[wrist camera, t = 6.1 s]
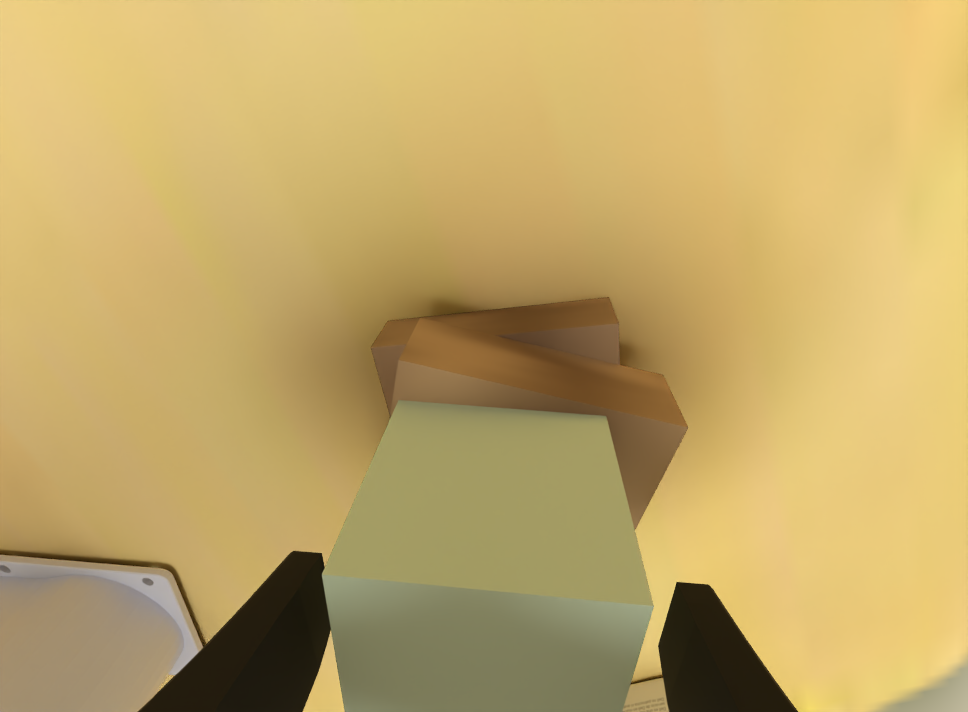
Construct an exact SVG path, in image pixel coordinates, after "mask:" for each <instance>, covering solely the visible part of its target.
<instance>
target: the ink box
mask: <svg viewBox="0 0 968 712" xmlns="http://www.w3.org/2000/svg"><path fill="white" fill-rule="evenodd" d="M622 712H669V709H668V705H667V699H666V693H665V687H664V681H663V678H658V679H654V680H649V681H645V682H640V683H636V684H631V685H630V687H629V691H628V694H627V697H626V701H625V704H624V708H623V711H622Z"/></svg>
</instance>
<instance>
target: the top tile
mask: <svg viewBox="0 0 968 712" xmlns="http://www.w3.org/2000/svg"><path fill="white" fill-rule="evenodd" d="M398 400H405V401H418V402H431V403H444V404H457V405H470V406H483V407H496V408H509V409H521V410H534V411H547V412H560V413H573V414H586V415H599V416H606V417H607V421H608V425H609V429H610V433H611V437H612V441H613V445H614V449H615V453H616V457H617V461H618V465H619V469H620V473H621V477H622V481H623V485H624V489H625V493H626V497H627V501H628V505H629V509H630V513H631V517H632V521H633V525H634V529H636V527H637V525H638V523H639V521H640V519H641V518H642V516H643V514H644V512H645V510H646V508H647V506H648V504H649V502H650V500H651V498H652V496H653V494H654V493H655V491H656V489H657V487H658V485H659V483H660V481H661V479H662V477H663V475H664V473H665V471H666V469H667V468H668V466H669V464H670V462H671V460H672V458H673V456H674V454H675V452H676V450H677V448H678V446H679V444H680V443H681V441H682V439H683V437H684V435H685V433H686V431H687V429H688V426H687V424H686V422H685V420H684V418H683V416H682V413H681V411H680V409H679V407H678V405H677V403H676V401H675V399H674V397H673V395H672V393H671V391H670V388H669V386H668V384H667V382H666V380H665V378H664V376H663V375H661V374H657V373H652V372H648V371H644V370H640V369H635V368H631V367H627V366H623V365H618V364H613V363H609V362H605V361H601V360H597V359H592V358H588V357H584V356H580V355H575V354H571V353H567V352H563V351H559V350H554V349H550V348H546V347H542V346H538V345H533V344H529V343H525V342H521V341H516V340H512V339H508V338H504V337H500V336H495V335H492V334H487V333H483V332H479V331H475V330H470V329H466V328H462V327H458V326H453V325H449V324H445V323H441V322H436V321H432V320H428V319H424V318H420V319H419V321H418V323H417V325H416V327H415V329H414V331H413V333H412V335H411V337H410V339H409V341H408V343H407V344H406V346H405V348H404V350H403V352H402V354H401V356H400V358H399V361H398V367H397V374H396V380H395V387H394V393H393V400H392V406H391V413H390V418H391V416H392V414H393V411H394V409H395V407H396V404H397V402H398ZM389 420H390V419H389Z"/></svg>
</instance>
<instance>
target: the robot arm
mask: <svg viewBox="0 0 968 712" xmlns="http://www.w3.org/2000/svg"><path fill="white" fill-rule="evenodd" d="M324 568H325V567H324V562H323V557H322V553H313V552H300V551H293V552H291V553H290V554H289V555H288V556H287V557H286V558H285V559H284V561H283V562H282V563H281V564H280V565H279V566H278V567H277V568H276V569H275V571H274V572H273V573H272V574H271V575H270V576H269V577H268V578H267V580H266V581H265V582H264V583H263V584H262V585H261V586H260V587H259V588H258V590H257V591H256V592H255V593H254V594H253V595H252V596H251V597H250V598H249V599H248V601H247V602H246V603H245V604H244V605H243V606H242V607H241V608H240V609H239V610H238V611H237V612H236V614H235V615H234V616H233V617H232V618H231V619H230V620H229V621H228V622H227V623H226V624H225V625H224V626H223V627H222V628H221V629H220V630H219V631H218V632H217V634H216V635H215V636H214V637H213V638H212V639H211V640H210V641H209V642H208V643H207V644H206V645H205V646H204V647H203V646H202V643H201V641H200V639H199V636H198V634H197V631H196V629H195V627H194V624H193V622H192V619H191V617H190V615H189V612H188V610H187V607H186V605H185V603H184V600H183V598H182V595H181V593H180V591H179V588H178V586H177V583H176V581H175V579H174V576H173V575H172V573H171V572H169V571H168V570H166V569H162V568H151V567H139V566H127V565H116V564H104V563H92V562H81V561H69V560H57V559H46V558H34V557H22V556H11V555H0V712H303V709H304V707H305V704H306V702H307V699H308V697H309V694H310V692H311V689H312V687H313V684H314V681H315V679H316V676H317V674H318V671H319V668H320V665H321V662H322V658H323V655H324V652H325V648H326V645H327V641H328V638H329V634H330V631H331V626H330V620H329V614H328V608H327V603H326V597H325V591H324V585H323V579H322V573H323V571H324ZM658 647H659V654H660V661H661V668H662V674H663V681H664V687H665V693H666V699H667V705H668V709H669V712H798V711H797V710H796V708H795V707H794V706H793V704H792V703H791V701H790V700H789V699H788V697H787V696H786V695H785V693H784V692H783V691H782V689H781V688H780V687H779V685H778V684H777V682H776V681H775V680H774V678H773V677H772V675H771V674H770V673H769V671H768V670H767V668H766V667H765V666H764V664H763V663H762V661H761V660H760V658H759V657H758V656H757V654H756V653H755V651H754V650H753V648H752V647H751V645H750V644H749V643H748V641H747V640H746V638H745V637H744V635H743V634H742V632H741V631H740V629H739V628H738V626H737V625H736V623H735V622H734V620H733V619H732V617H731V616H730V614H729V613H728V611H727V610H726V608H725V607H724V605H723V604H722V602H721V601H720V599H719V598H718V596H717V595H716V593H715V592H714V590H713V589H712V588H711V587H710V586H709V585H706V584H694V583H681V582H677V583H676V587H675V590H674V594H673V597H672V601H671V604H670V607H669V611H668V614H667V618H666V621H665V624H664V628H663V631H662V635H661V638H660V641H659V645H658ZM168 675H175V676H174V677H173V678H172V679H171V680H170V681H169V682H168V683H167V684H166V685H165V686H164V687H163V688H162V689H161V690H160V691H159V692H158V690H159V688H160V687H161V685H162V684H163V682H164V680H165V679H166V677H167V676H168ZM157 692H158V693H157ZM156 693H157V694H156Z"/></svg>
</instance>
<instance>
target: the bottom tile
mask: <svg viewBox="0 0 968 712" xmlns="http://www.w3.org/2000/svg"><path fill="white" fill-rule="evenodd" d="M420 318H424V319H428V320H432V321H436V322H441V323H445V324H449V325H453V326H458V327H462V328H466V329H470V330H475V331H479V332H483V333H487V334H492V335H495V336H500V337H504V338H508V339H512V340H516V341H521V342H525V343H529V344H533V345H538V346H542V347H546V348H550V349H554V350H559V351H563V352H567V353H571V354H575V355H580V356H584V357H588V358H592V359H597V360H601V361H605V362H609V363H613V364H618V365H620V353H619V323H618V320H617V318H616V315H615V312H614V310H613V307H612V304H611V302H610V299H609V297H607V298H598V299H588V300H579V301H570V302H560V303H551V304H542V305H532V306H523V307H513V308H504V309H495V310H485V311H476V312H467V313H457V314H448V315H439V316H429V317H420ZM420 318H410V319H401V320H392V321H388V322H387V323H386V325H385V326H384V328H383V329H382V331H381V332H380V334H379V336H378V337H377V339H376V340H375V342H374V343H373V345H372V346H371V350H372V354H373V357H374V361H375V364H376V368H377V372H378V375H379V379H380V382H381V386H382V389H383V393H384V396H385V400H386V403H387V407H388V410H389V414H390V413H391V406H392V400H393V393H394V387H395V380H396V374H397V367H398V361H399V358H400V356H401V354H402V352H403V350H404V348H405V346H406V344H407V343H408V341H409V339H410V337H411V335H412V333H413V331H414V329H415V327H416V325H417V323H418V321H419V319H420Z"/></svg>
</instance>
